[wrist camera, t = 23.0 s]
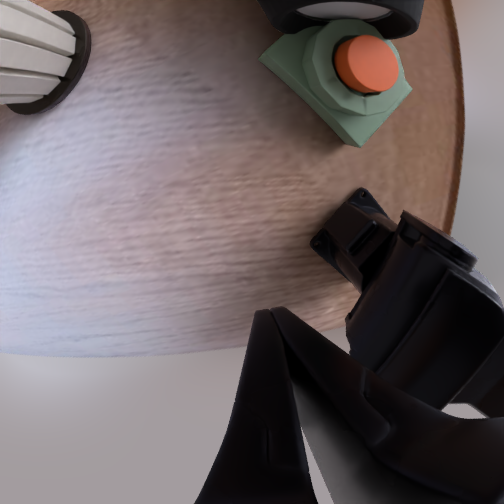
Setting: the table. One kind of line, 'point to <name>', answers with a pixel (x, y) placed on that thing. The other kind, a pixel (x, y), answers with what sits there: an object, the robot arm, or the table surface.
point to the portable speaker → (345, 14)
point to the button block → (334, 78)
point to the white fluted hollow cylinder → (32, 51)
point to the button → (366, 64)
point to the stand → (72, 73)
